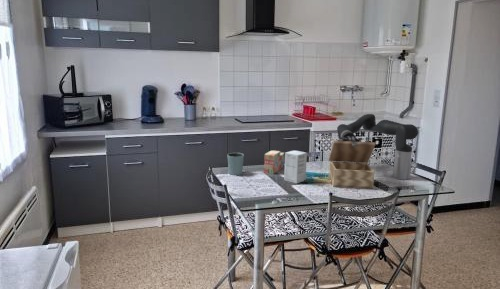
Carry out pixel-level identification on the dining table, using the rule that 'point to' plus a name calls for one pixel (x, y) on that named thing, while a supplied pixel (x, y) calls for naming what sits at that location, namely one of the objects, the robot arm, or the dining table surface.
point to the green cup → (235, 163)
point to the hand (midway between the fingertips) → (353, 143)
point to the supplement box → (295, 166)
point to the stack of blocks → (273, 161)
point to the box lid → (351, 151)
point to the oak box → (351, 175)
